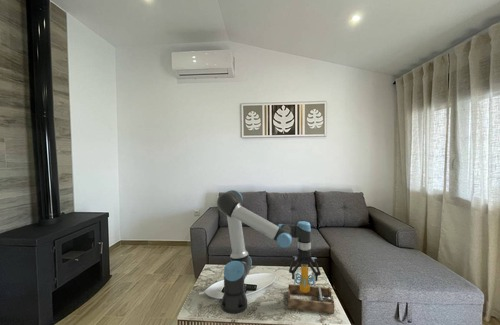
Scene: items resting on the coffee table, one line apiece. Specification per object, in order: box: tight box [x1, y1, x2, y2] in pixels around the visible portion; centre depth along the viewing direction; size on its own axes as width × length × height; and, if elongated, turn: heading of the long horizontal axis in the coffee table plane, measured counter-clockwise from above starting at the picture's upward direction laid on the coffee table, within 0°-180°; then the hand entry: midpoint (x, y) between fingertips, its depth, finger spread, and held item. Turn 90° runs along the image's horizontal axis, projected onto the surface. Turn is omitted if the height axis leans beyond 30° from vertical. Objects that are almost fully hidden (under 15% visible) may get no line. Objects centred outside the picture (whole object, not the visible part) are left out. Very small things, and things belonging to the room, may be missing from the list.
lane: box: [287, 283, 335, 314], centre depth 136 cm, size 25×16×6 cm, turn 79°
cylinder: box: [295, 264, 314, 293], centre depth 136 cm, size 12×10×15 cm
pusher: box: [317, 286, 331, 302], centre depth 134 cm, size 8×13×6 cm, turn 169°
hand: (304, 285), depth 136 cm, fingers closed on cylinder, 11 cm apart
